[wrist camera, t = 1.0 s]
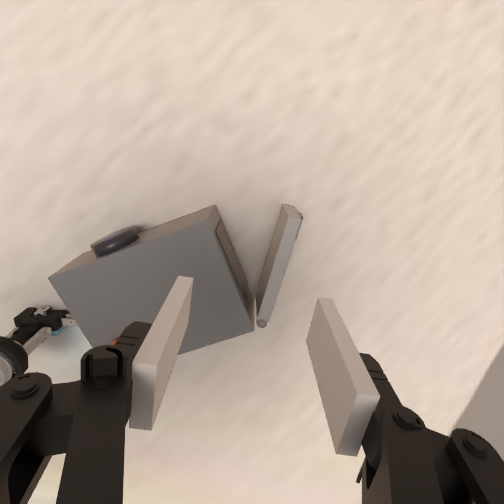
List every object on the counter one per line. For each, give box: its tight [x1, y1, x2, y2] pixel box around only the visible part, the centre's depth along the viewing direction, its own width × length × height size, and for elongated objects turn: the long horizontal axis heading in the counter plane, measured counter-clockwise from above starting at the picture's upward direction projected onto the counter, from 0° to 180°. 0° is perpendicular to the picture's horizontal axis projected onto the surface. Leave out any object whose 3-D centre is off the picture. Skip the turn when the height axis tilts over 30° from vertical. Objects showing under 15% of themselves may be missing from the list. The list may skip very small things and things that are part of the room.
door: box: [256, 204, 303, 328], centre depth 33 cm, size 2×12×6 cm, turn 166°
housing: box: [48, 205, 254, 355], centre depth 33 cm, size 16×13×7 cm
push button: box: [0, 306, 77, 387], centre depth 34 cm, size 7×5×10 cm
